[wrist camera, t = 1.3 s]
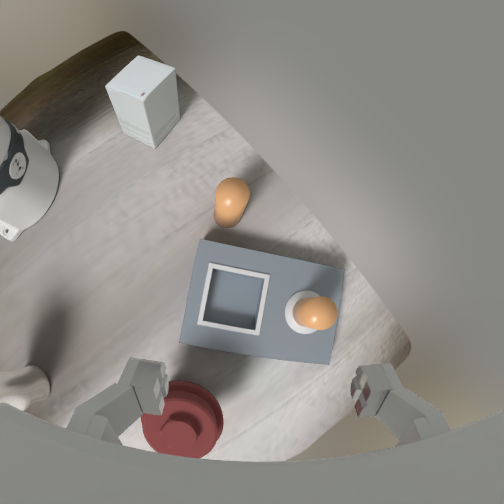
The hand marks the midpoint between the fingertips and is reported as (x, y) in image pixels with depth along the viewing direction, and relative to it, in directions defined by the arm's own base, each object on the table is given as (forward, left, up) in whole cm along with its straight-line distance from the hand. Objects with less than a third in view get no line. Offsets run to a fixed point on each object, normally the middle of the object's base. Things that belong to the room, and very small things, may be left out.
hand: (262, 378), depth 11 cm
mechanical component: (-3, -12, -30) cm, 33 cm away
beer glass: (-28, -17, -30) cm, 45 cm away
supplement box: (-18, +29, -30) cm, 45 cm away
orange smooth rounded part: (-2, +16, -30) cm, 34 cm away
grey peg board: (+6, +4, -30) cm, 31 cm away
